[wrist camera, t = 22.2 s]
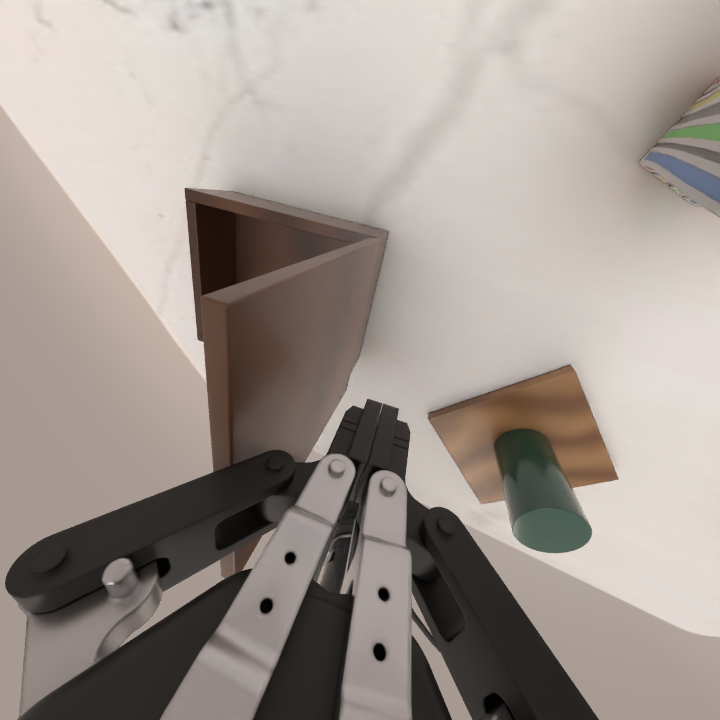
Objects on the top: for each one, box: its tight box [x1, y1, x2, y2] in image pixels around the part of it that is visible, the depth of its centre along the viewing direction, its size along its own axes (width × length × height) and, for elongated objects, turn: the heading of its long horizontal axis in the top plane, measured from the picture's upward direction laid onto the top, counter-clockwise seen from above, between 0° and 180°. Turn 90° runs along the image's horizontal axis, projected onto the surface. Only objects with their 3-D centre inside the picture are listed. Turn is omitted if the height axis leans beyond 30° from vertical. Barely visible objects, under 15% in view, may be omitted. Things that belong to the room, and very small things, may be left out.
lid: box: [201, 237, 381, 578], centre depth 16 cm, size 15×13×1 cm
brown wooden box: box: [185, 188, 389, 374], centre depth 26 cm, size 15×13×6 cm
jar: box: [494, 429, 592, 553], centre depth 26 cm, size 5×5×9 cm
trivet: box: [428, 366, 618, 504], centre depth 31 cm, size 14×14×1 cm
